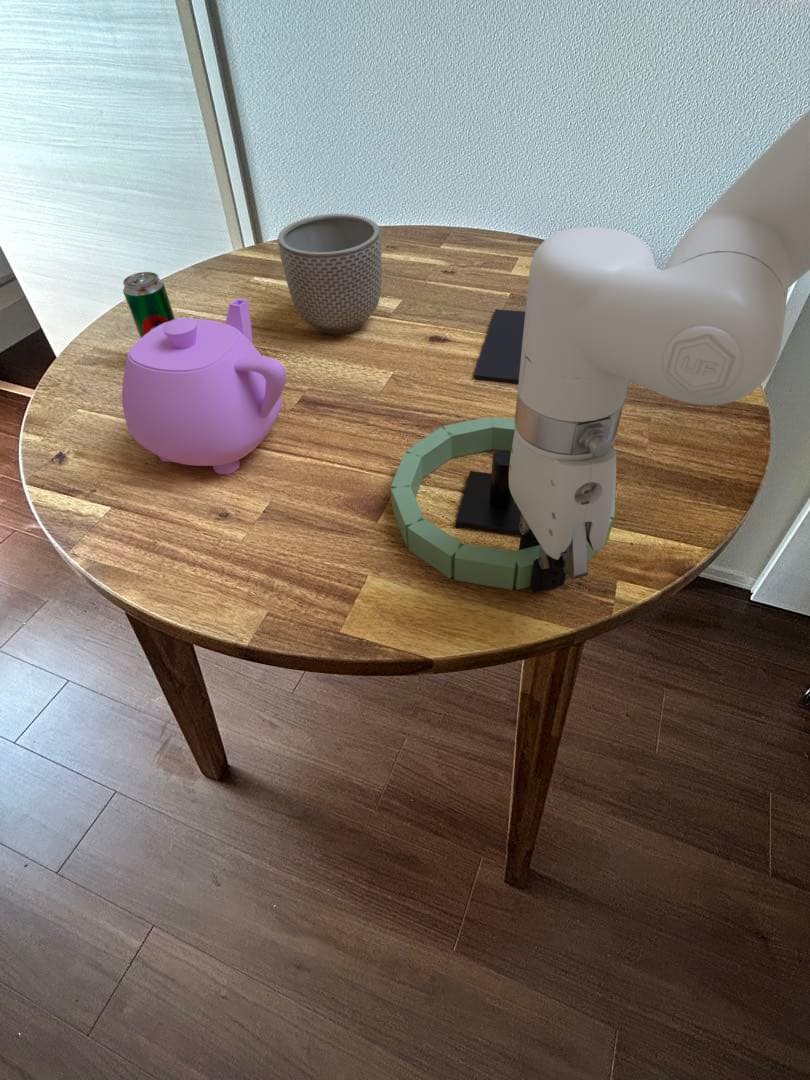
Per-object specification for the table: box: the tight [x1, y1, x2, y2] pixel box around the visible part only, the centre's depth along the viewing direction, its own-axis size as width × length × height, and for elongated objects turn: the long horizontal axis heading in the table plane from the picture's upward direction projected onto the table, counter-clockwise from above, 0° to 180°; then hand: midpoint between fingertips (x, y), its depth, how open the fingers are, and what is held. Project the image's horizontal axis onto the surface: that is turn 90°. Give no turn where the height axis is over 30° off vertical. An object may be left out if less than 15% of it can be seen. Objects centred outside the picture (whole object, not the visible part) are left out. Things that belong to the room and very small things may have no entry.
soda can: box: [122, 271, 176, 340], centre depth 86 cm, size 5×5×12 cm
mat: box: [473, 308, 525, 384], centre depth 88 cm, size 18×18×1 cm
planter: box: [277, 213, 383, 335], centre depth 91 cm, size 14×14×13 cm
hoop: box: [390, 416, 617, 591], centre depth 66 cm, size 22×22×3 cm
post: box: [455, 450, 525, 537], centre depth 65 cm, size 8×8×6 cm
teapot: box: [121, 297, 287, 475], centre depth 73 cm, size 20×20×15 cm
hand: (540, 574), depth 61 cm, fingers closed
